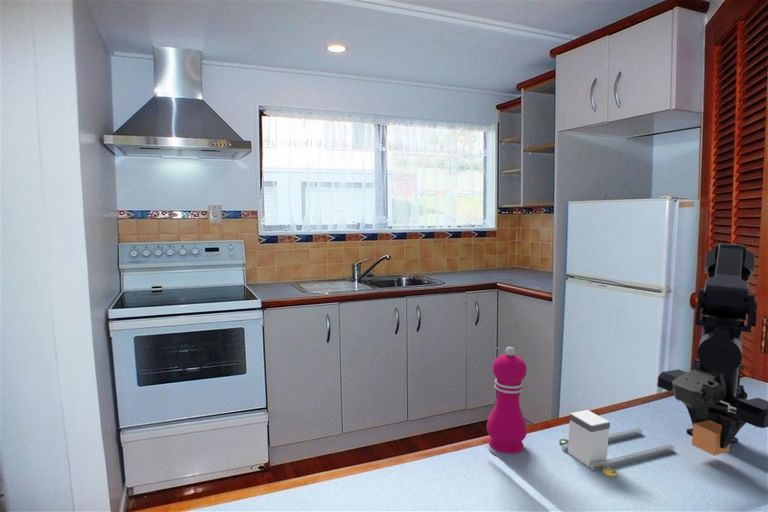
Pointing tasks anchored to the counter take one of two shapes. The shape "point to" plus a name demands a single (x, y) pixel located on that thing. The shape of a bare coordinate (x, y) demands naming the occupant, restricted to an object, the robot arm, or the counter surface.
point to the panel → (626, 458)
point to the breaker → (588, 437)
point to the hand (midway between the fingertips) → (710, 442)
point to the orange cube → (708, 437)
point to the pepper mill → (507, 404)
